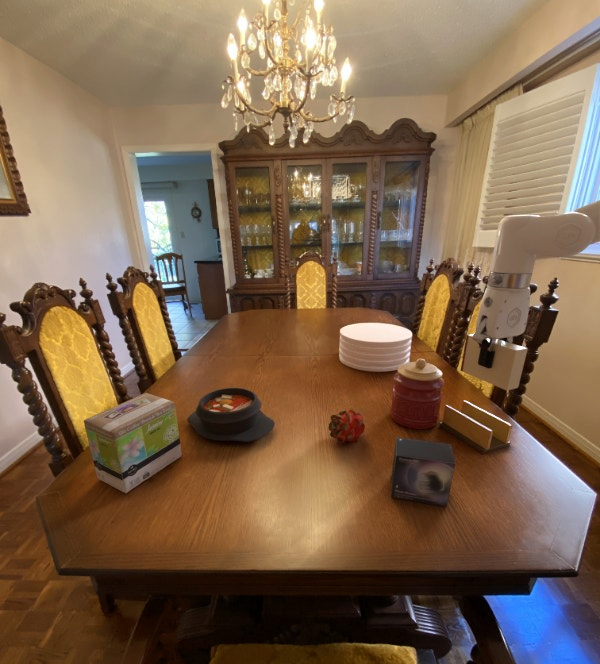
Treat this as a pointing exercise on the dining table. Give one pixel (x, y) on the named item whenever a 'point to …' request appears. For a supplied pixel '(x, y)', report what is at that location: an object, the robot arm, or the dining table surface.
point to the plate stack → (375, 346)
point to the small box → (422, 471)
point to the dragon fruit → (346, 426)
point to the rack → (477, 427)
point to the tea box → (133, 440)
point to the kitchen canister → (417, 395)
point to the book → (495, 363)
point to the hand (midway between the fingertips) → (491, 364)
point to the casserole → (231, 416)
